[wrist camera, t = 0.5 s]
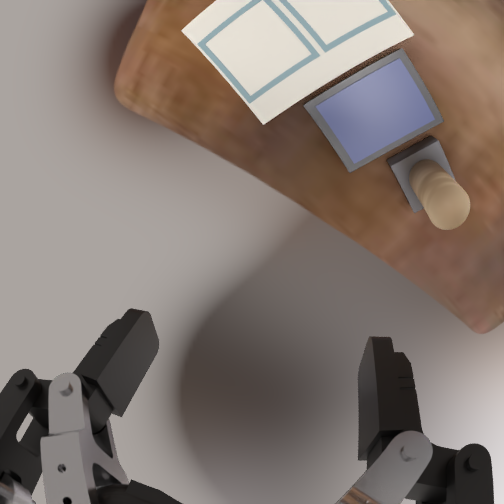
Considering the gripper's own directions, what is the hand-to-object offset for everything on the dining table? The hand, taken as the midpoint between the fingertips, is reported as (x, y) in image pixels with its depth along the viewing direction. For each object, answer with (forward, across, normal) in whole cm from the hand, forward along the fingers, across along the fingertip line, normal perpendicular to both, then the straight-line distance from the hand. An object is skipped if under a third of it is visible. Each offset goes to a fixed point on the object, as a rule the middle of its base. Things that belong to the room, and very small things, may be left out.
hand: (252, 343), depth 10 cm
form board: (+19, 0, -15) cm, 24 cm away
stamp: (+19, -12, -2) cm, 23 cm away
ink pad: (+19, -7, -7) cm, 22 cm away
